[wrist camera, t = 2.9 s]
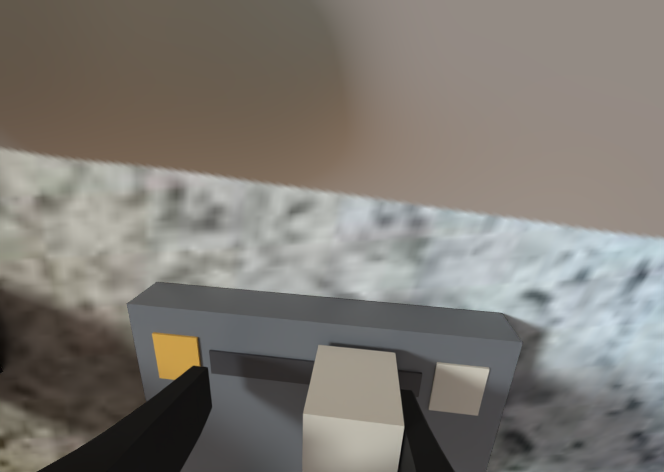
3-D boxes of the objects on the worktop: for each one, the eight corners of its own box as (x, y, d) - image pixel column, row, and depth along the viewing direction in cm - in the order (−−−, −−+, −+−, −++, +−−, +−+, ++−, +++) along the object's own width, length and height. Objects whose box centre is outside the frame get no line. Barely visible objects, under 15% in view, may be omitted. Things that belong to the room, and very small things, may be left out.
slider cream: (395, 352, 12) (404, 426, 9) (386, 420, 13) (392, 505, 10) (318, 344, 12) (302, 413, 9) (316, 412, 14) (301, 492, 11)
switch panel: (501, 313, 14) (524, 344, 12) (439, 561, 20) (447, 610, 18) (156, 282, 15) (124, 305, 13) (194, 523, 21) (176, 564, 19)
